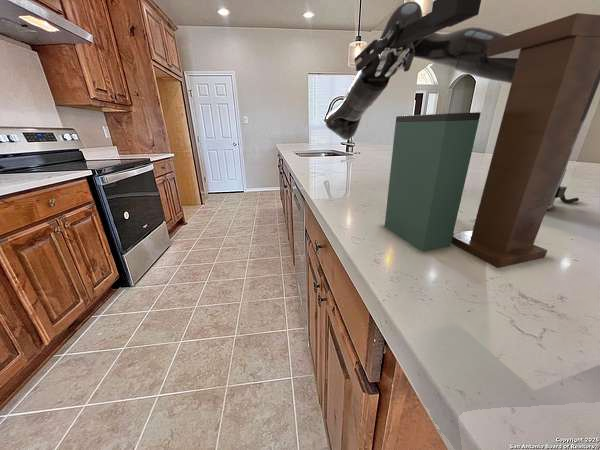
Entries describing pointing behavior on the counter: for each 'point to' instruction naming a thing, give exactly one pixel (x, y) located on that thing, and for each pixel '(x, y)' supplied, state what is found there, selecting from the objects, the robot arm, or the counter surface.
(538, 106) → the shelf stand
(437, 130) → the dark green tall block
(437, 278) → the counter surface
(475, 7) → the pad strip
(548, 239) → the counter surface
